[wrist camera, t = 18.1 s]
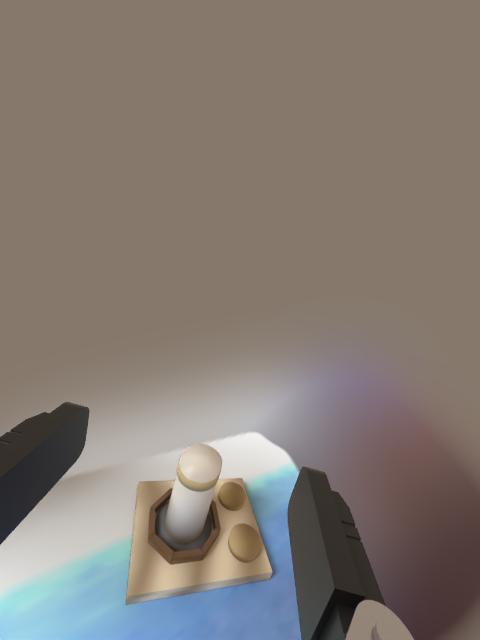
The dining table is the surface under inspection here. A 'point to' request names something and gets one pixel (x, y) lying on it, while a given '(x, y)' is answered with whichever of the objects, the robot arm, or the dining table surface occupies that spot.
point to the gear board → (194, 545)
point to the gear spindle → (192, 493)
